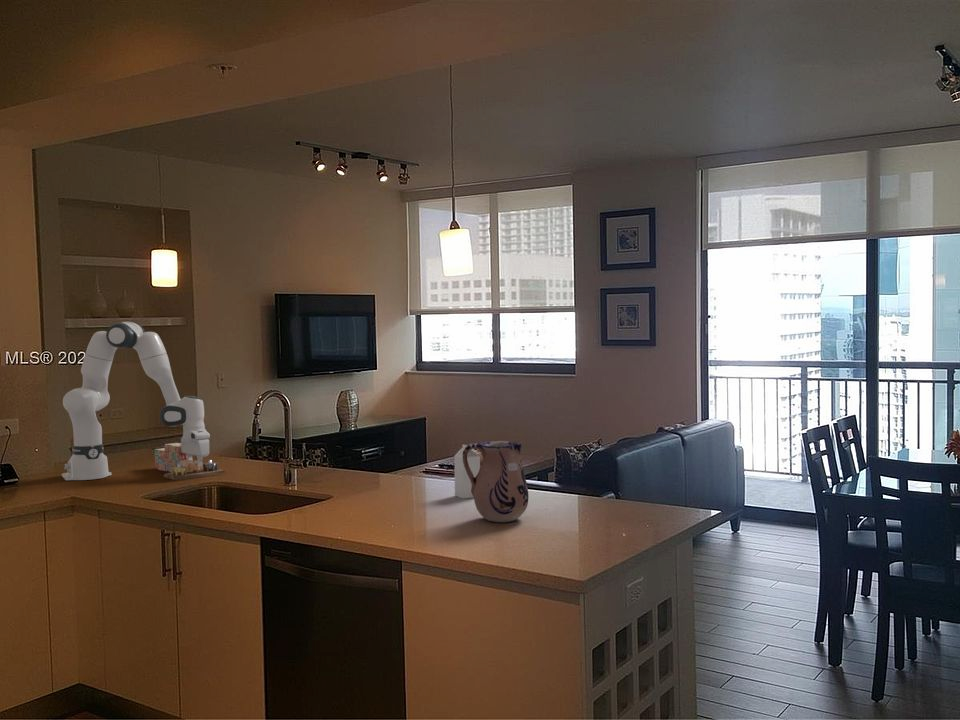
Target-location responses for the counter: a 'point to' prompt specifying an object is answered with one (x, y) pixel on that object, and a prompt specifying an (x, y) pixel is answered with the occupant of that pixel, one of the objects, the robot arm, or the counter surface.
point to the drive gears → (183, 469)
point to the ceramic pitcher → (498, 481)
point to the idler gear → (193, 466)
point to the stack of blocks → (170, 457)
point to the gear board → (193, 474)
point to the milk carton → (461, 475)
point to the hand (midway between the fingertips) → (194, 465)
